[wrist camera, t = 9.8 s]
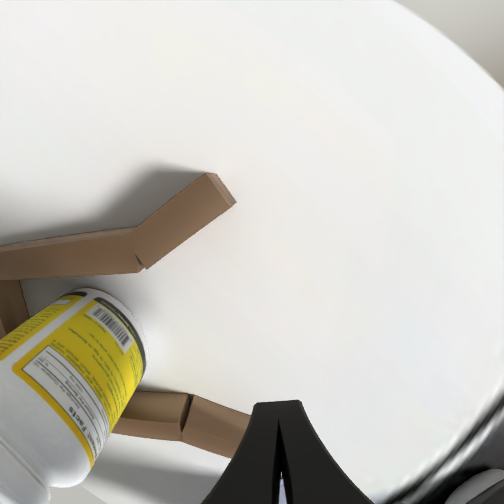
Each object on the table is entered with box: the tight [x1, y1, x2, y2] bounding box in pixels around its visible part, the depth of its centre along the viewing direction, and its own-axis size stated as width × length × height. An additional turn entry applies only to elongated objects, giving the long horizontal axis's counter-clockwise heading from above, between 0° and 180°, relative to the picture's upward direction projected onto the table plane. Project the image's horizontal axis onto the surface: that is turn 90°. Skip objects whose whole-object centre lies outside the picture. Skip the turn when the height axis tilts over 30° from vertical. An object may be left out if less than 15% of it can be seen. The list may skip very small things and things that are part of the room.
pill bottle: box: [0, 288, 149, 504], centre depth 9 cm, size 6×6×11 cm
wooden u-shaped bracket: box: [0, 173, 251, 459], centre depth 14 cm, size 15×15×2 cm
